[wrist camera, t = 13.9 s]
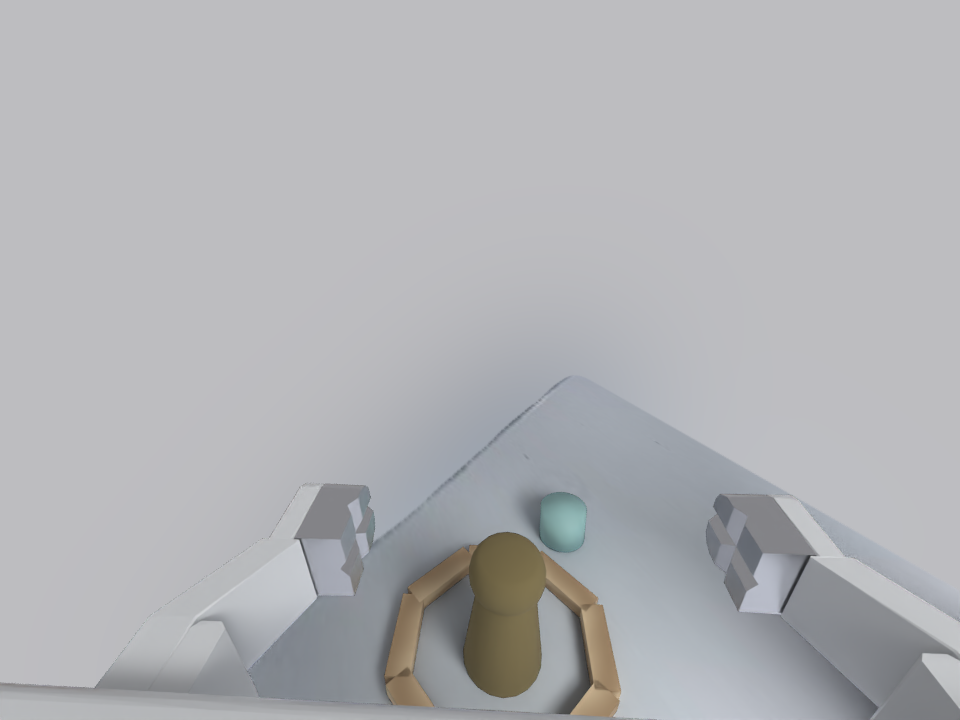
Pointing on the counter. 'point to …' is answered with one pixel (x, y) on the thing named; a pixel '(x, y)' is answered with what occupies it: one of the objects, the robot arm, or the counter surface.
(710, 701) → the counter surface
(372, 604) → the counter surface
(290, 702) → the robot arm
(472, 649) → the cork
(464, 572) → the wooden segmented ring
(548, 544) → the loose bead
